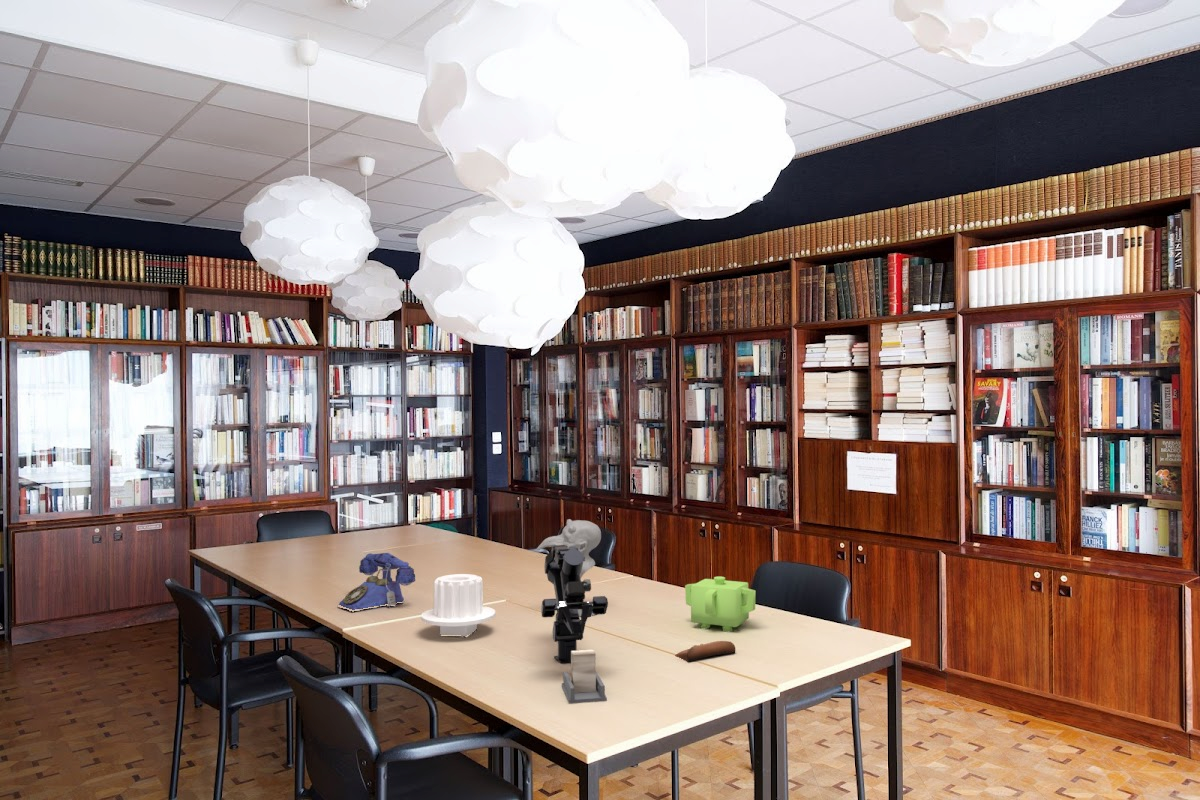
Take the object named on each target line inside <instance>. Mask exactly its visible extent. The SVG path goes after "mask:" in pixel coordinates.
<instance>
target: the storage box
mask: <svg viewBox="0 0 1200 800" xmlns="http://www.w3.org/2000/svg"><path fill="white" fill-rule="evenodd" d="M684 587H685V588H684V590H685V604H686V605H687V606H690V620H691V621H690V623H695V624H696V623H697V624H700V626H699V628H700V627H701V628H709V629H710V628H711V626H712V625H714V626H722V631H723V630H724V631H723V632H726V631H731V632H733V631H732V630H733V628H737V627H740V626H741V624H742V623H744V622H745V621H747V620H749V617H750V616H749V615H750V612H753V611H755V610H756V590H755V589H751V588H749V582H747V581H735V580H726V577H724V576H719V575H718V576H714V577H713V579H712V578H704V579H702V580H699V581H698V582H695V583H687V584H685V585H684ZM739 625H740V626H739ZM701 628H700V629H701Z"/></svg>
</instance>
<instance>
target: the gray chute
mask: <svg viewBox="0 0 1200 800" xmlns="http://www.w3.org/2000/svg"><path fill="white" fill-rule="evenodd" d="M562 676H563V681H562V683H561V687H562V690H563V694H564V695H565V697H567V698H566V699H567V702H568V704H577V703H580V704H581V703H591V702H592V703H593V701H594V702H605V701H607V699H608V697H607V695H606V687H605V684H604V682H603V680H602V678H601V677H600V675H599V673H598V672H597V671H596V691H594V692H580V693H574V686H573V684H572V682H571V677H570V676H569V673H568V671H563V674H562Z"/></svg>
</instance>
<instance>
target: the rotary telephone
mask: <svg viewBox="0 0 1200 800" xmlns="http://www.w3.org/2000/svg"><path fill="white" fill-rule="evenodd" d="M359 563H360V565H359V566H358V567H359V568H358V569H359V573H361V574H363V575H365V576H368V577H367V578H366V580H365V581H364V582H363V583H362V584H360V585H358V586H357V587H355V588H353V589H352V590H351V591H349V592H348V593H347V594H346V595H345V597H343V599H341V600H340V601H339V604H338V605H341V606H343V607H346V608H349V609H352V610H355V609H363V608H368V607H374V606H380V605H385V604H388V606H391V605H396V603H397V602H402V601H403V602H404V600H405V598H404V596H403V594H402V588H401V586H404V587H406V586H410V585H411V584H413V583H414V582H416V573H415V569H414V568H413V567H411V566H410V565H409V564H410V563H409V562H407V561H404V560H402V559H400V558H398V557H396V556H395V555H393V554H391V553H389V552H381V553H372V552H371V553H367V554H365V557H363V558H362V559H361V560H360V562H359ZM379 568H380V569H379ZM392 570H396V575H395V581H394V580H393V578H392V575H391V573H392ZM380 571H382V577H381V578H379V577H378V576H379V574H380ZM376 572H377V574H376V575H374V574H375V573H376ZM388 606H387V607H388ZM396 606H397V605H396Z"/></svg>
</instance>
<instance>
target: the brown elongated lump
mask: <svg viewBox="0 0 1200 800" xmlns="http://www.w3.org/2000/svg"><path fill="white" fill-rule="evenodd" d="M732 652H733V653H732ZM730 653H732V654H736V646H735V644H734V643H733V642H732V641H727V640H717V641H713V642H712V641H711V642H708V643H701V644H699V645H698V644H697V645H696V644H695V645H692V646H691V647H690V648H689V649H685V650H681V651H679V652H677V653H676V654H674V656H675V657H677V658H678V657H679V659H680V658H681V660H682V659H683V661H685V662H687V663H689V662H693V661H696V660H700V659H703V658H707V657H714V656H717V655H724V654H730Z"/></svg>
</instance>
